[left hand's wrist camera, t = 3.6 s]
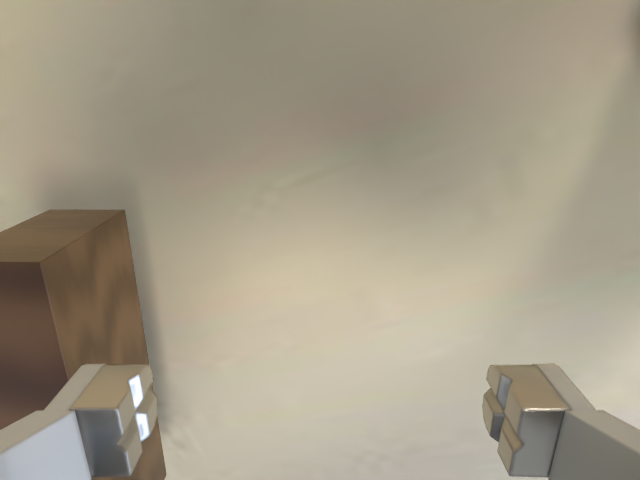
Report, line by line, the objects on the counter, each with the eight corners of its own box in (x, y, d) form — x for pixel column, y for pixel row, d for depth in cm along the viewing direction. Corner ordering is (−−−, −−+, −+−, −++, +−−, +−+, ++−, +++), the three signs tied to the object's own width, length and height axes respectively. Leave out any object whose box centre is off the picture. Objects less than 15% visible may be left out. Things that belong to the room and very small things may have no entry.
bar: (49, 209, 30) (-67, 261, 21) (125, 209, 30) (40, 262, 21) (107, 473, 38) (41, 591, 29) (166, 474, 38) (118, 592, 29)
